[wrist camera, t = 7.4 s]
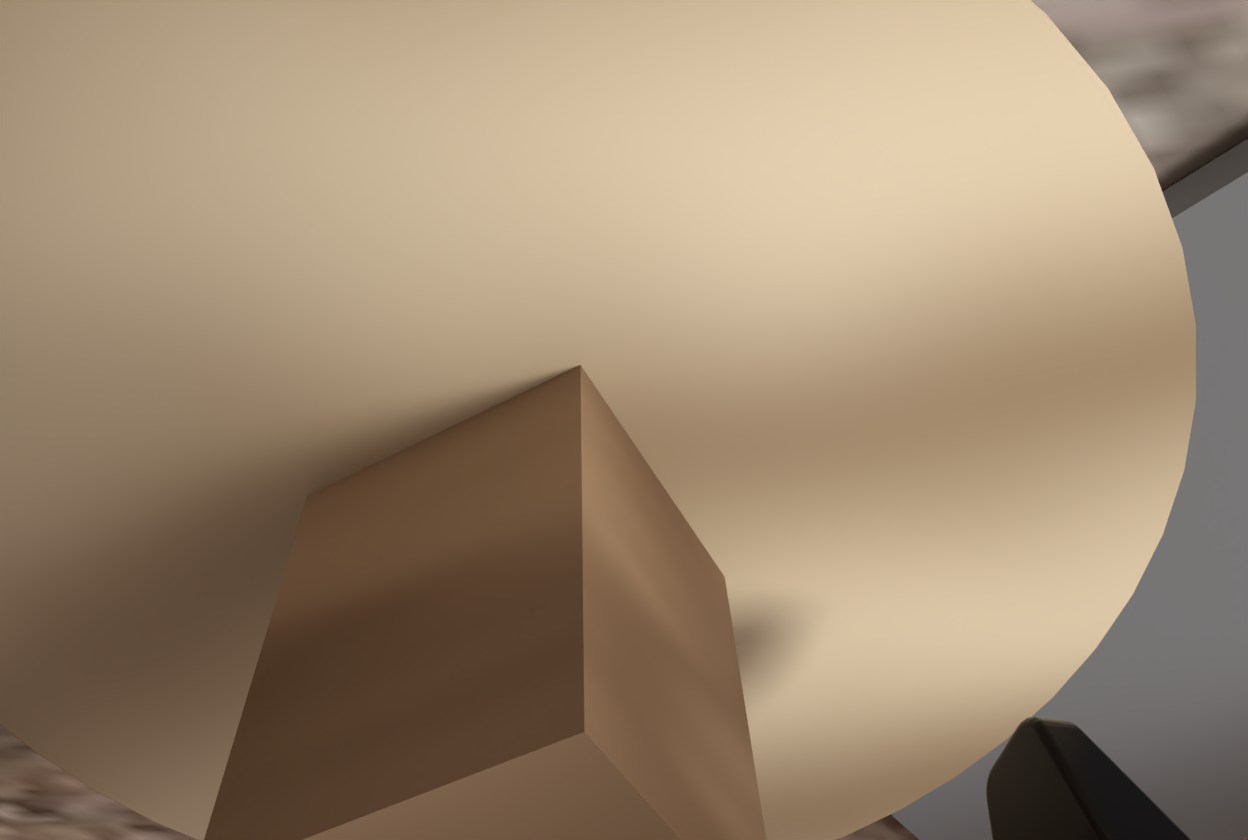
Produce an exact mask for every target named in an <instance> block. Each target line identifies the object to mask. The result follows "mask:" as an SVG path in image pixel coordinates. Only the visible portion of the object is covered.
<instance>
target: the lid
mask: <svg viewBox="0 0 1248 840" xmlns="http://www.w3.org/2000/svg"><path fill="white" fill-rule="evenodd" d="M1195 403H1196V323H1195V317H1194V311H1193V305H1192V300H1191V294H1190V288H1189V282H1188V277H1187V271H1186V265H1185V259H1184V254H1183V248H1182V245H1181V242H1180V240H1179V237H1178V234H1177V231H1176V228H1175V226H1174V223H1173V220H1172V217H1171V215H1170V212H1169V209H1168V206H1167V204H1166V201H1165V198H1164V195H1163V192H1162V190H1161V187H1160V184H1159V181H1158V179H1157V176H1156V173H1155V170H1154V168H1153V166H1152V164H1151V163H1150V161H1149V159H1148V157H1147V156H1146V154H1145V152H1144V150H1143V149H1142V147H1141V145H1140V143H1139V142H1138V140H1137V138H1136V137H1135V135H1134V133H1133V131H1132V130H1131V128H1130V126H1129V124H1128V123H1127V121H1126V119H1125V117H1124V116H1123V114H1122V112H1121V110H1120V109H1119V107H1118V105H1117V103H1116V102H1115V100H1114V98H1113V96H1112V95H1111V93H1110V91H1109V90H1108V88H1107V87H1106V86H1105V85H1104V83H1103V82H1102V81H1101V80H1100V79H1099V77H1098V76H1097V75H1096V74H1095V73H1094V71H1093V70H1092V69H1091V68H1090V66H1089V65H1088V64H1087V63H1086V62H1085V60H1084V59H1083V58H1082V57H1081V56H1080V54H1079V53H1078V52H1077V51H1076V50H1075V48H1074V47H1073V46H1072V45H1071V44H1070V42H1069V41H1068V40H1067V39H1066V38H1065V36H1064V35H1063V34H1062V33H1061V32H1060V30H1059V29H1058V28H1057V27H1056V25H1055V24H1054V23H1053V22H1052V21H1051V19H1050V18H1049V17H1048V16H1047V15H1046V13H1045V12H1043V11H1042V10H1041V9H1040V8H1039V7H1038V6H1036V5H1035V4H1034V3H1033V2H1032V1H1031V0H0V724H1V725H2V726H3V727H5V728H6V729H7V730H8V731H10V732H11V733H12V734H13V735H15V736H16V737H17V738H19V739H20V740H21V741H22V742H24V743H25V744H26V745H27V746H29V747H30V748H31V749H32V750H34V751H35V752H36V753H38V754H39V755H41V756H42V757H44V758H45V759H47V760H48V761H50V762H51V763H53V764H55V765H56V766H58V767H59V768H61V769H62V770H64V771H65V772H67V773H68V774H70V775H72V776H73V777H75V778H76V779H78V780H79V781H81V782H82V783H84V784H85V785H87V786H89V787H90V788H92V789H93V790H95V791H97V792H99V793H101V794H103V795H104V796H106V797H108V798H110V799H112V800H114V801H116V802H118V803H120V804H122V805H124V806H125V807H127V808H129V809H131V810H133V811H135V812H137V813H139V814H141V815H143V816H145V817H146V818H148V819H150V820H152V821H154V822H156V823H159V824H161V825H164V826H166V827H168V828H171V829H173V830H175V831H178V832H180V833H183V834H185V835H187V836H190V837H192V838H195V839H197V840H837V839H839V838H842V837H844V836H846V835H849V834H851V833H853V832H855V831H857V830H859V829H861V828H863V827H865V826H867V825H869V824H872V823H874V822H876V821H878V820H880V819H882V818H884V817H886V816H888V815H890V814H892V813H895V812H897V811H899V810H901V809H902V808H904V807H906V806H907V805H909V804H911V803H912V802H914V801H916V800H918V799H919V798H921V797H923V796H924V795H926V794H928V793H929V792H931V791H933V790H934V789H936V788H938V787H939V786H941V785H943V784H944V783H946V782H948V781H950V780H951V779H953V778H955V777H956V776H957V775H959V774H960V773H961V772H963V771H964V770H965V769H967V768H968V767H970V766H971V765H972V764H974V763H975V762H976V761H978V760H979V759H980V758H982V757H983V756H985V755H986V754H987V753H989V752H990V751H991V750H993V749H994V748H996V747H997V746H998V745H1000V744H1001V743H1002V742H1004V741H1005V740H1006V739H1007V738H1008V737H1010V736H1011V735H1012V734H1013V733H1014V731H1015V730H1016V728H1017V727H1018V725H1019V724H1020V723H1021V722H1022V721H1023V720H1025V719H1027V718H1028V717H1032V716H1033V715H1034V714H1035V713H1036V712H1037V711H1038V710H1039V709H1041V708H1042V707H1043V706H1044V705H1045V704H1046V703H1047V702H1048V701H1049V700H1050V699H1052V698H1053V697H1054V695H1055V694H1056V693H1057V692H1058V691H1059V690H1060V689H1061V688H1062V686H1063V685H1064V684H1065V683H1066V682H1067V681H1068V680H1069V678H1070V677H1071V676H1072V675H1073V674H1074V673H1075V672H1076V671H1077V669H1078V668H1079V667H1080V666H1081V665H1082V664H1083V663H1084V661H1085V660H1086V659H1087V658H1088V657H1089V656H1090V655H1091V654H1092V652H1093V651H1094V650H1095V649H1096V648H1097V646H1098V645H1099V643H1100V642H1101V640H1102V639H1103V637H1104V636H1105V634H1106V633H1107V631H1108V630H1109V629H1110V627H1111V626H1112V624H1113V623H1114V621H1115V620H1116V618H1117V617H1118V615H1119V614H1120V612H1121V611H1122V610H1123V608H1124V607H1125V605H1126V604H1127V602H1128V601H1129V599H1130V598H1131V596H1132V595H1133V593H1134V591H1135V589H1136V587H1137V585H1138V583H1139V581H1140V579H1141V577H1142V575H1143V573H1144V571H1145V569H1146V567H1147V565H1148V563H1149V561H1150V559H1151V557H1152V555H1153V553H1154V551H1155V549H1156V547H1157V545H1158V543H1159V541H1160V539H1161V537H1162V535H1163V533H1164V529H1165V526H1166V523H1167V520H1168V517H1169V514H1170V511H1171V508H1172V505H1173V502H1174V499H1175V496H1176V493H1177V490H1178V487H1179V484H1180V481H1181V478H1182V475H1183V472H1184V469H1185V463H1186V457H1187V451H1188V445H1189V439H1190V433H1191V427H1192V421H1193V415H1194V409H1195Z"/></svg>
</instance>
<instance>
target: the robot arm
mask: <svg viewBox="0 0 1248 840" xmlns="http://www.w3.org/2000/svg"><path fill="white" fill-rule="evenodd" d="M986 798H987V806H988V812H989V819H990V826H991V833H992V839H993V840H1191V839H1190V838H1189V837H1188V836H1187V835H1186V834H1185V833H1184V832H1183V831H1182V830H1181V829H1180V828H1179V827H1178V826H1177V825H1176V824H1175V823H1174V822H1173V821H1172V820H1171V819H1170V818H1169V817H1168V816H1167V815H1166V814H1165V813H1164V812H1163V811H1162V810H1161V809H1160V808H1159V807H1158V806H1157V805H1156V804H1155V803H1154V802H1153V801H1152V800H1151V799H1150V798H1149V797H1148V796H1147V795H1146V794H1145V793H1144V792H1143V791H1142V790H1141V789H1140V788H1139V787H1138V786H1137V785H1136V784H1135V783H1134V782H1133V781H1132V780H1131V779H1130V778H1129V777H1128V776H1127V775H1126V774H1125V773H1124V772H1123V771H1122V770H1121V769H1120V768H1119V767H1118V766H1117V765H1116V764H1115V763H1114V762H1113V761H1112V760H1111V759H1110V758H1109V757H1108V756H1107V755H1106V754H1105V753H1104V752H1103V751H1102V750H1101V749H1100V748H1099V747H1098V746H1097V745H1096V744H1095V743H1094V742H1093V741H1092V740H1091V739H1090V738H1089V737H1088V736H1087V735H1086V734H1085V733H1084V732H1083V731H1082V730H1081V729H1080V728H1079V727H1078V726H1076V725H1075V724H1073V723H1072V722H1069V721H1066V720H1060V719H1052V718H1043V717H1028V718H1027V719H1025V720H1023V721H1022V722H1021V723H1020V724H1019V725H1018V727H1017V728H1016V730H1015V731H1014V733H1013V735H1012V736H1011V738H1010V739H1009V741H1008V742H1007V744H1006V746H1005V747H1004V749H1003V750H1002V752H1001V754H1000V755H999V757H998V758H997V760H996V762H995V763H994V765H993V766H992V768H991V770H990V772H989V776H988V779H987V785H986Z"/></svg>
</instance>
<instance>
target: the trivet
mask: <svg viewBox="0 0 1248 840" xmlns="http://www.w3.org/2000/svg"><path fill="white" fill-rule="evenodd" d="M1162 192H1163V195H1164V198H1165V201H1166V204H1167V206H1168V209H1169V212H1170V215H1171V217H1172V220H1173V223H1174V226H1175V228H1176V231H1177V234H1178V237H1179V240H1180V242H1181V245H1182V248H1183V254H1184V259H1185V265H1186V271H1187V277H1188V282H1189V288H1190V294H1191V300H1192V305H1193V311H1194V317H1195V323H1196V403H1195V409H1194V415H1193V421H1192V427H1191V433H1190V439H1189V445H1188V451H1187V457H1186V463H1185V469H1184V472H1183V475H1182V478H1181V481H1180V484H1179V487H1178V490H1177V493H1176V496H1175V499H1174V502H1173V505H1172V508H1171V511H1170V514H1169V517H1168V520H1167V523H1166V526H1165V529H1164V533H1163V535H1162V537H1161V539H1160V541H1159V543H1158V545H1157V547H1156V549H1155V551H1154V553H1153V555H1152V557H1151V559H1150V561H1149V563H1148V565H1147V567H1146V569H1145V571H1144V573H1143V575H1142V577H1141V579H1140V581H1139V583H1138V585H1137V587H1136V589H1135V591H1134V593H1133V595H1132V596H1131V598H1130V599H1129V601H1128V602H1127V604H1126V605H1125V607H1124V608H1123V610H1122V611H1121V612H1120V614H1119V615H1118V617H1117V618H1116V620H1115V621H1114V623H1113V624H1112V626H1111V627H1110V629H1109V630H1108V631H1107V633H1106V634H1105V636H1104V637H1103V639H1102V640H1101V642H1100V643H1099V645H1098V646H1097V648H1096V649H1095V650H1094V651H1093V652H1092V654H1091V655H1090V656H1089V657H1088V658H1087V659H1086V660H1085V661H1084V663H1083V664H1082V665H1081V666H1080V667H1079V668H1078V669H1077V671H1076V672H1075V673H1074V674H1073V675H1072V676H1071V677H1070V678H1069V680H1068V681H1067V682H1066V683H1065V684H1064V685H1063V686H1062V688H1061V689H1060V690H1059V691H1058V692H1057V693H1056V694H1055V695H1054V697H1053V698H1052V699H1050V700H1049V701H1048V702H1047V703H1046V704H1045V705H1044V706H1043V707H1042V708H1041V709H1039V710H1038V711H1037V712H1036V713H1035V714H1034V715H1033V716H1032V717H1043V718H1052V719H1060V720H1066V721H1069V722H1072V723H1073V724H1075V725H1076V726H1078V727H1079V728H1080V729H1081V730H1082V731H1083V732H1084V733H1085V734H1086V735H1087V736H1088V737H1089V738H1090V739H1091V740H1092V741H1093V742H1094V743H1095V744H1096V745H1097V746H1098V747H1099V748H1100V749H1101V750H1102V751H1103V752H1104V753H1105V754H1106V755H1107V756H1108V757H1109V758H1110V759H1111V760H1112V761H1113V762H1114V763H1115V764H1116V765H1117V766H1118V767H1119V768H1120V769H1121V770H1122V771H1123V772H1124V773H1125V774H1126V775H1127V776H1128V777H1129V778H1130V779H1131V780H1132V781H1133V782H1134V783H1135V784H1136V785H1137V786H1138V787H1139V788H1140V789H1141V790H1142V791H1143V792H1144V793H1145V794H1146V795H1147V796H1148V797H1149V798H1150V799H1151V800H1152V801H1153V802H1154V803H1155V804H1156V805H1157V806H1158V807H1159V808H1160V809H1161V810H1162V811H1163V812H1164V813H1165V814H1166V815H1167V816H1168V817H1169V818H1170V819H1171V820H1172V821H1173V822H1174V823H1175V824H1176V825H1177V826H1178V827H1179V828H1180V829H1181V830H1182V831H1183V832H1184V833H1185V834H1186V835H1187V836H1188V837H1189V838H1190V839H1191V840H1243V839H1245V838H1248V139H1246V140H1245V141H1243V142H1241V143H1240V144H1238V145H1237V146H1235V147H1233V148H1232V149H1230V150H1229V151H1227V152H1225V153H1224V154H1222V155H1220V156H1219V157H1217V158H1216V159H1214V160H1212V161H1211V162H1209V163H1208V164H1206V165H1204V166H1203V167H1201V168H1200V169H1198V170H1196V171H1195V172H1193V173H1191V174H1190V175H1188V176H1187V177H1185V178H1183V179H1182V180H1180V181H1179V182H1177V183H1175V184H1174V185H1172V186H1171V187H1169V188H1167V189H1166V190H1164V191H1162ZM1012 735H1013V734H1012ZM1012 735H1011V736H1012ZM1011 736H1010V737H1008V738H1007V739H1006V740H1005V741H1004V742H1002V743H1001V744H1000V745H998V746H997V747H996V748H994V749H993V750H991V751H990V752H989V753H987V754H986V755H985V756H983V757H982V758H980V759H979V760H978V761H976V762H975V763H974V764H972V765H971V766H970V767H968V768H967V769H965V770H964V771H963V772H961V773H960V774H959V775H957V776H956V777H955V778H953V779H951V780H950V781H948V782H946V783H944V784H943V785H941V786H939V787H938V788H936V789H934V790H933V791H931V792H929V793H928V794H926V795H924V796H923V797H921V798H919V799H918V800H916V801H914V802H912V803H911V804H909V805H907V806H906V807H904V808H902V809H901V810H899V811H897V812H895V813H892V814H891V815H892V816H893V817H894V818H895V819H896V820H897V821H899V822H900V823H901V824H902V825H903V826H904V827H905V828H906V829H908V830H909V831H910V832H911V833H912V834H913V835H914V836H915V837H916V838H918V839H919V840H993V839H992V833H991V826H990V819H989V812H988V806H987V798H986V785H987V779H988V776H989V772H990V770H991V768H992V766H993V765H994V763H995V762H996V760H997V758H998V757H999V755H1000V754H1001V752H1002V750H1003V749H1004V747H1005V746H1006V744H1007V742H1008V741H1009V739H1010V738H1011Z"/></svg>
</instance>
